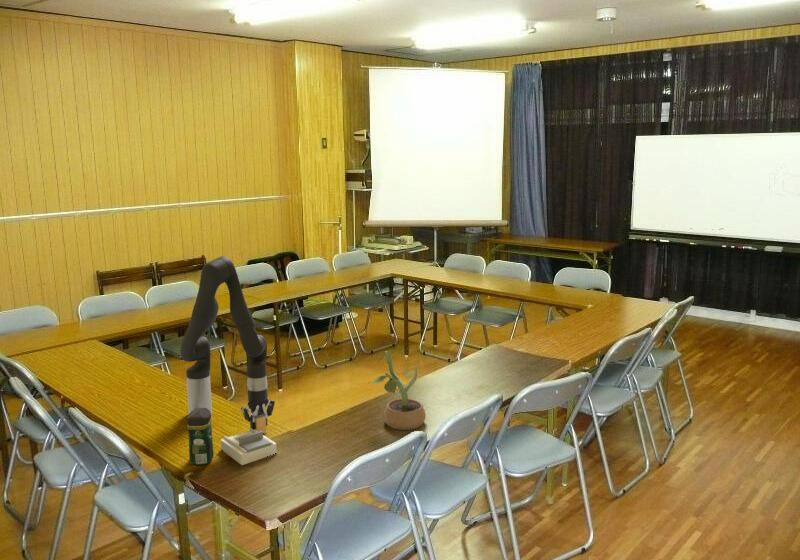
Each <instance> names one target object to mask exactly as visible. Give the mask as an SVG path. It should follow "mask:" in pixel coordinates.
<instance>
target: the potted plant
mask: <svg viewBox="0 0 800 560" xmlns="http://www.w3.org/2000/svg"><path fill="white" fill-rule="evenodd" d="M383 353H384V355H382V356H381V357H380V358H379V359H378V363H379V362H380V361H381V360H382V359H383V358H384V357H385V358H386V362H387V364H388V370H389V374H388V373H387V372H386V373H384V375H380V376H378V377H377V378H375V379H374V381H373V382H371V384H370V386H371V385H376V384H379V383H382V382H383V381H384V380H386V378H388V381H387V382H386V383H385V384H384V387H383V389H384V390H385V391H386V392H388V393H393V394H394V393H395V392H396V390H397V388H398V389H399V393H400V396H401V398H399V399H398V398H397V399H393V400H391V401H389V402H388V403H387V404H386V406H385V408H384V411H383V420H384V422H385V423H386V425H387V426H388V427H390V428H392V429H395V430H399V431H410V430H416V429H418V428H420V427H421V426H422V425H423V424H424V422H425V419H426V415H427V414H426V411H425V408H424V406H423V404H422V403H421V401H418V400H415V399H411V398H409V395H408V393H407V392H408V391H409V390H410V389H411V387H413V385H414V384H415V383H416V381H417V378H418V370H417V369H418V368H415V370H411V371H404V372H402V373H403V375H404V376H406V377H409V376H411V375H412V374H414V375H413V377H412V378H411V380H410V381H409V382H408V383H407V384H406V385H404V384H403V382H402V381H401V380H400V377H399V376H398V375H397V374H396V372H395V371H394V367H393V361H392V355H391V354H390V352H389V351H387V350H384V352H383Z"/></svg>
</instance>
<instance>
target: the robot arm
mask: <svg viewBox="0 0 800 560" xmlns="http://www.w3.org/2000/svg"><path fill="white" fill-rule="evenodd" d="M224 283H225V285H226V287H227V291H228V295H229V313H230V317H231V319H232V322H233V323H234V325H235V328H236V330H237V332H238V334H239V338H240V342H241V345H242V349H243V350H244V352H245V353H246V355H247V356H248V358H249V359H248V363H247V366H246V367H247V371H246V372H247V380H246V383H247V385H246V386H247V387H246V388H247V399H248V400H247V401H248V402H247V405H245V406H242V407H241V408H240V410H241V412H242V415H243V417H244V420H245V421H247V422H248V423H250V424H249V425H250V428H249V429H251V428H252V429H253V430H254V429H255V430H256V422H255V417H256V416H257V413H258V412H263V413H264V414H266V427H267V426H268V418H269V417H271V416H272V415H273V412H274V407H275V404H276V402H275V400H273V399H271V398H270V399H268V398H269V395H268V391H269V390H268V378H267V365H266V364H267V353H268V342H267V340H266V338H265V337H264V335H260V334H258V333H257V331H256V328H257V324H256V322H255V320H254V317H253V315H252V313H251V311H250V309H249V307H248V305H247V302H246V299H245V296H244V293H243V292H244V291H243V289H242V286H241V283H240V279H239V275H238V272H237V269H236V267H235V265H234V263H233V261H232V260H231V259H230V258H229V257H227V256H225V255H224V256H219V257H216V258H214V259H213V260H211V261H208V262H206V263H205V264H204V265H203V267H202V269H201V272H200V280H199V286H198V292H197V296H196V299H195V302H194V305H193V308H192V313H191V316H190V320H189V324H188V325H187V329H186V331H185V334H184V336H183V338H182V341H181V344H180V348H179V352H180V358H181V359H182V360H183V361H184V362H188V363H191V362H194V363H193V364H192V365H191V366H190V367H188V368H187V369H186V372H185V373H186V374H185V376H186V390H187V404H188V405H187V407H188V414H189V413H190V412H191V411H193V410H194V409H195V408H207V409H208V410H210V412H211V416H212V415H213V410H212V409H213V408H212V407H213V406H212V405H213V404H212V389H211V372H210V371H211V343H210V342H209V339H208V338H207V337H206V336H204V334H206V333H207V332H208V330H209V329H210V328H212V327H213V325H214V324H215V322H216V320H217V317H218V313H219V303H218V301H217V298H216V294H217V290H218V288H219V287H220V286H221V285H222V284H224ZM249 410H250V411H249Z"/></svg>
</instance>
